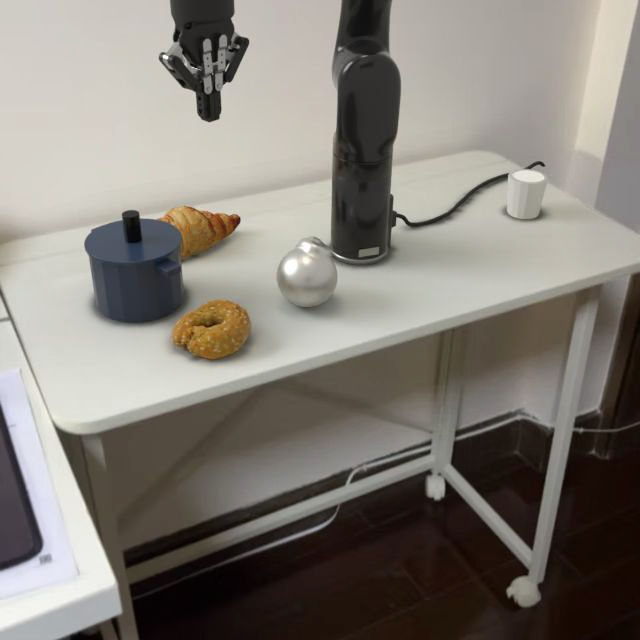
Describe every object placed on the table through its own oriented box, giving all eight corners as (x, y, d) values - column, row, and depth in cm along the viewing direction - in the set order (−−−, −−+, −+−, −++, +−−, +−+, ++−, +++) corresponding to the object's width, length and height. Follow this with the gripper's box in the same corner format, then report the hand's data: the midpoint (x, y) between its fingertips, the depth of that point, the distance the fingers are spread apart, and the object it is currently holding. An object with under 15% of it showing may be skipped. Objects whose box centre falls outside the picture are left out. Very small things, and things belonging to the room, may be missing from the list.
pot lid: (143, 216, 131) (140, 185, 129) (202, 246, 124) (200, 213, 121) (66, 246, 123) (60, 213, 120) (123, 280, 115) (119, 245, 113)
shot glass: (547, 210, 156) (554, 173, 152) (534, 224, 151) (540, 186, 147) (511, 201, 159) (517, 165, 155) (497, 214, 154) (502, 177, 150)
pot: (138, 264, 137) (132, 209, 132) (213, 306, 127) (209, 248, 122) (69, 293, 129) (59, 236, 124) (142, 340, 119) (135, 280, 114)
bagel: (178, 320, 123) (175, 292, 121) (255, 323, 123) (254, 294, 121) (165, 361, 115) (162, 331, 112) (248, 363, 115) (247, 333, 112)
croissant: (130, 288, 137) (134, 259, 131) (105, 239, 141) (108, 208, 135) (248, 252, 147) (257, 224, 140) (222, 208, 151) (229, 178, 144)
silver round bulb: (352, 304, 128) (354, 243, 123) (301, 325, 123) (301, 263, 117) (314, 279, 134) (314, 221, 128) (264, 299, 129) (262, 238, 123)
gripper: (222, -37, 107) (229, 100, 116) (134, -22, 99) (149, 125, 108) (264, -29, 103) (268, 114, 112) (176, -11, 94) (188, 141, 104)
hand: (209, 119), depth 110 cm, fingers closed
